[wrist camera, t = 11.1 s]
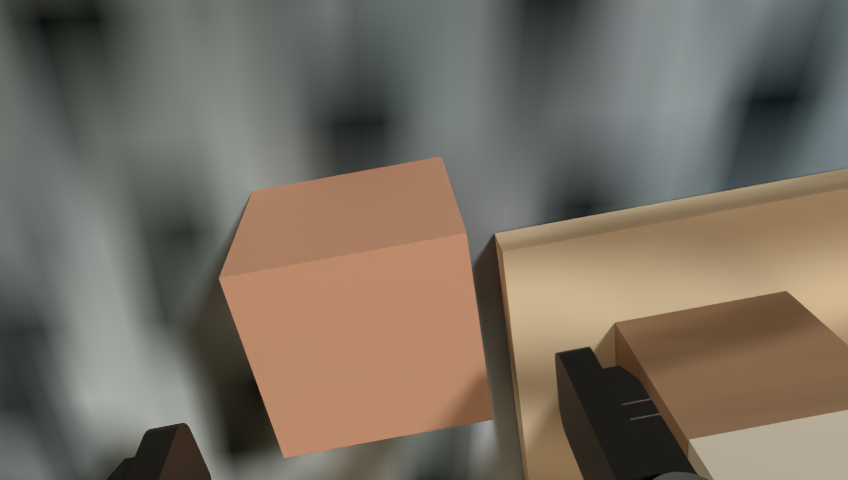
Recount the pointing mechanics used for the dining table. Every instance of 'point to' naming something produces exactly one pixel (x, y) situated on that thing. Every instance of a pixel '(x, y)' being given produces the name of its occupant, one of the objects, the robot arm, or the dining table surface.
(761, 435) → the grey block
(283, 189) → the terracotta block
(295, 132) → the dining table surface
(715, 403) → the walnut block
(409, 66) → the dining table surface
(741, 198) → the birch board
